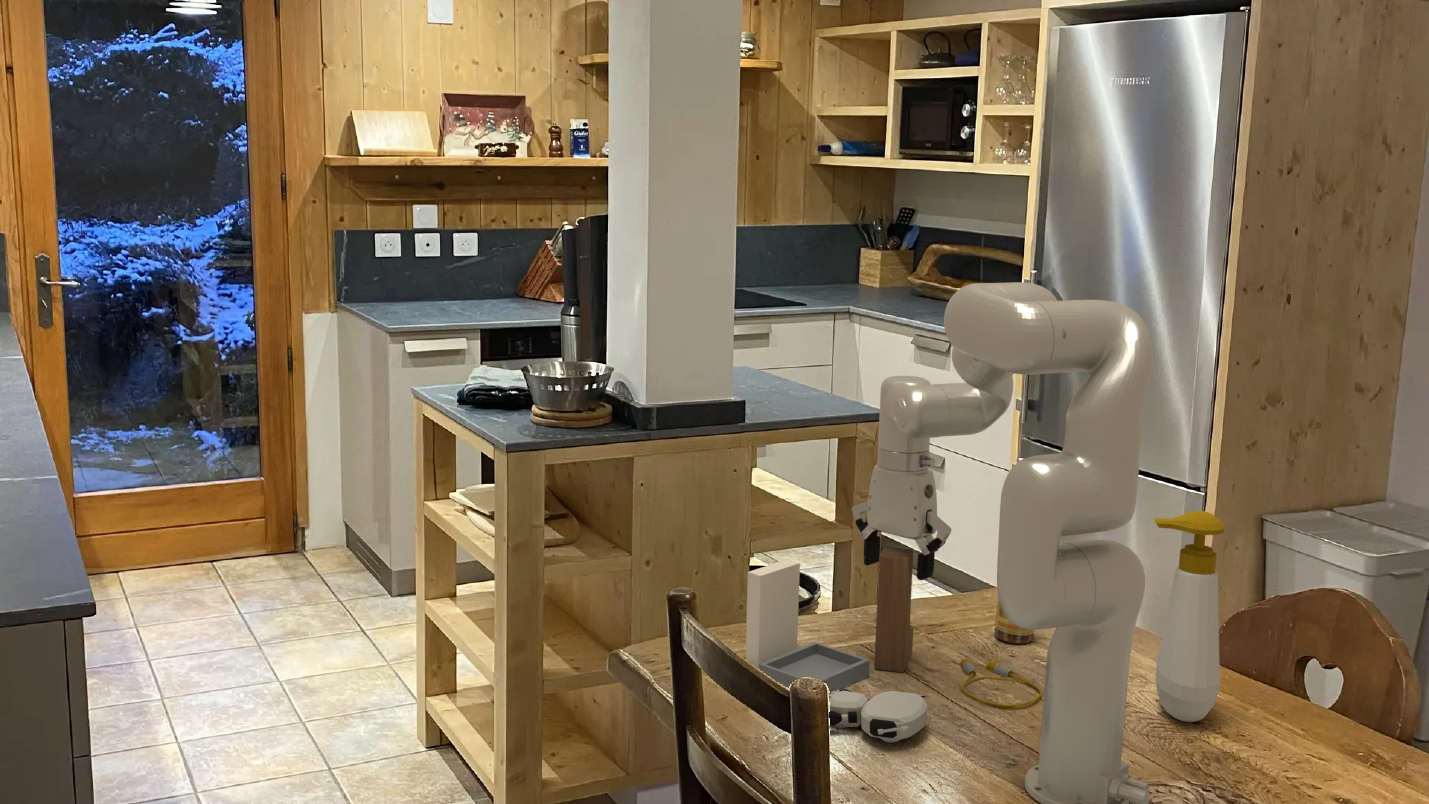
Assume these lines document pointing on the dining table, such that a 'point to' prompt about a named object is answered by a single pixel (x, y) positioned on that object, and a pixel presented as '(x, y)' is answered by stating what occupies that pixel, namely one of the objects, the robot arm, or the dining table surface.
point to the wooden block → (894, 610)
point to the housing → (790, 633)
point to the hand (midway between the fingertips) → (897, 570)
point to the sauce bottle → (1010, 629)
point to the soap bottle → (1191, 624)
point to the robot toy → (879, 713)
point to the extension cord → (1001, 670)
